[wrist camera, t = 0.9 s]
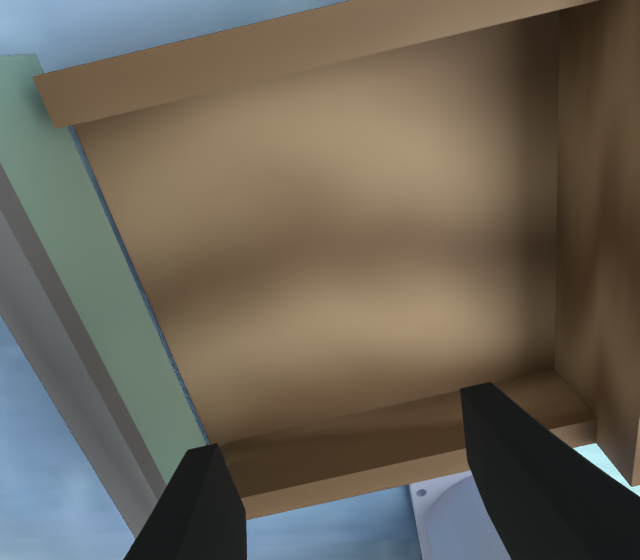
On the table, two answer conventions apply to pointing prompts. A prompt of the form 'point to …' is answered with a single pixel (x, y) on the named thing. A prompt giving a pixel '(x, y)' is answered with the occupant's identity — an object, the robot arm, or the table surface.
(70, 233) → the green board
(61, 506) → the table surface
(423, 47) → the cart bed
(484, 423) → the robot arm
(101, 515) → the table surface
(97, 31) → the table surface
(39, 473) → the table surface
